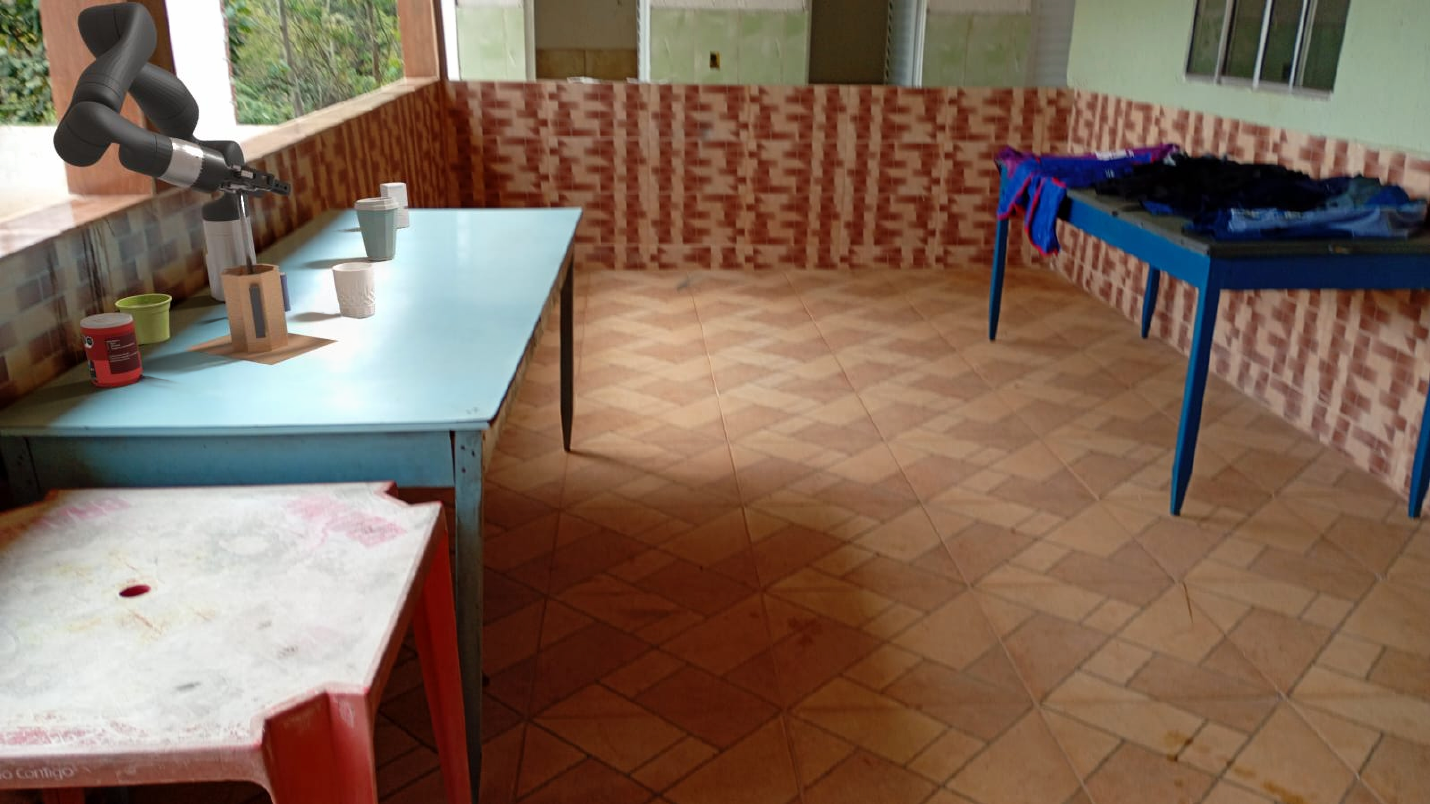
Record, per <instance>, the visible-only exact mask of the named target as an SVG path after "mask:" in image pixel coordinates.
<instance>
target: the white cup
mask: <svg viewBox="0 0 1430 804" xmlns="http://www.w3.org/2000/svg"><path fill="white" fill-rule="evenodd" d="M331 271H332V276H333V281H334V289H335V293H336V297H337V298H336V299H337V302H338V306H339V312H340V317H342V316H343V317H342V318H348V319H349V318H351V319H356V318H357V319H363V318H364V319H365V318H369V317H371V316H374V315H375V313H376V308H375V307H376V306H375V305H376V303H375V300H376V296H375V293H376V292H375V280H374V279H375V277H374V265H373V264H372V263H370V262H363V261H362V262H345V263H341V264H339V263H338V264H336V265H334V266H332V268H331Z"/></svg>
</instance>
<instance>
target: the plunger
mask: <svg viewBox="0 0 1430 804" xmlns="http://www.w3.org/2000/svg"><path fill="white" fill-rule="evenodd" d="M248 186H250V184H249V185H248ZM229 190H234V189H229ZM242 190H243V189H238V190H235V191H236V197H237V204H238V211H239V217H240V224H241V231H242V238H243V244H244V251H245V258H246V264H247V271H248V275H252V274H254V271H253V264H252V257H251V250H250V244H249V237H248V230H247V223H246V216H245V210H244V203H243V196H242Z"/></svg>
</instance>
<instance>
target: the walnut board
mask: <svg viewBox="0 0 1430 804" xmlns="http://www.w3.org/2000/svg"><path fill="white" fill-rule="evenodd" d="M288 337H289V344H288V345H287V346H285V347H282V348H279V349H276V350H273V351H265V352H255V353H246V352H240V351H234V350H233V346H232V339H231V333H229V334H225V335H223V336H222V335H221V336H219V337H216V338H214V339H209V340H207V341H204V342H200V343H197V344H194V345H191V346H187V347H185V348H183V350H185V351H191V352H196V353H202V354H207V355H213V356H219V357H224V358H230V359H236V360H240V361H241V360H242V361H248V362H252V363H258V364H263V365H268V366H269V365H270V366H273V365H276V364H278V363H282V362H284V361H287V360H289V359H292V358H295V357H298V356H301V355H303V354H306V353H310V352H312V351H314V350H317V349H320V348H323V347H326V346H329V345H331V344H334V343H336V342H338V339H337V340H336V339H331V338H323V337H318V336H311V335H305V334H300V333H292V332H288Z"/></svg>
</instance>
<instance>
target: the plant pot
mask: <svg viewBox="0 0 1430 804" xmlns="http://www.w3.org/2000/svg"><path fill="white" fill-rule="evenodd" d="M172 300H173V299H172V296H171V295H169V294H162V293H149V294H139V295H134V296H129V297H125V298H122V299H119V300H116V302H115V304H114V305H115V307H117V309H118V310H119V313H126V314H130V315H132V318H133V323H134V327H135V333H136V338H137V344H138V346H139V345H143V344H144V345H149V344H155V343H160V342H164V341H166V340H169V339H170V337H171V336H170V334H171V333H170V311H169V310H170V307H171V301H172Z"/></svg>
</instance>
